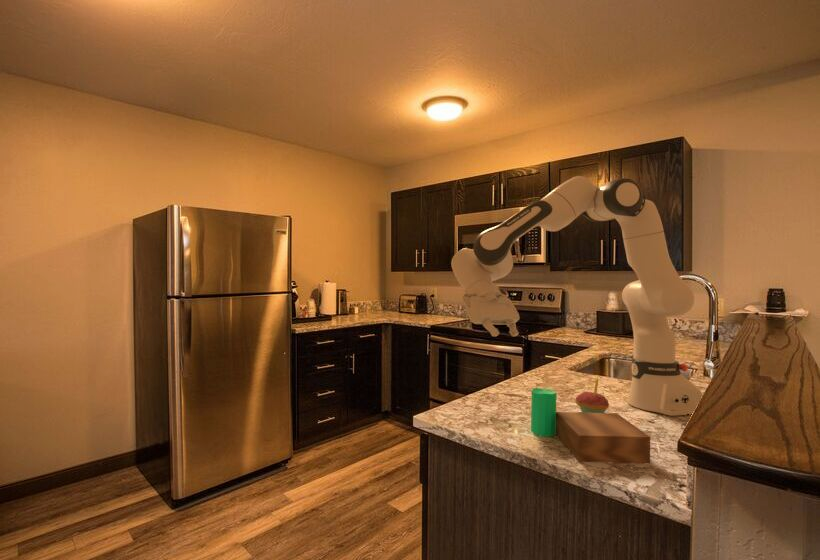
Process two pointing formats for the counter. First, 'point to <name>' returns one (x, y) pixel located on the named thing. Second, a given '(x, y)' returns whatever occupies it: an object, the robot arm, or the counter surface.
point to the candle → (543, 412)
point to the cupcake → (592, 401)
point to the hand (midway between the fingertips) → (506, 335)
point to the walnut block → (602, 437)
